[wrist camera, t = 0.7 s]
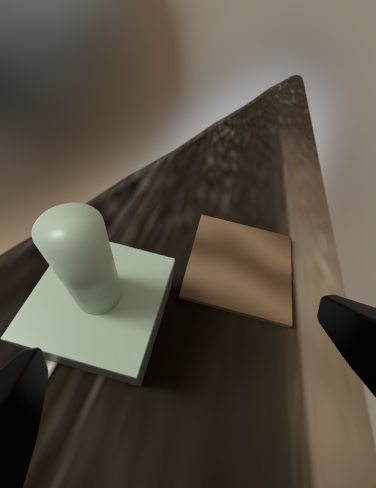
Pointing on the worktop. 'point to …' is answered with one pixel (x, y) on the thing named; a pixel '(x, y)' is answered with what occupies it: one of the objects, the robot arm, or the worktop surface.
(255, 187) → the worktop surface
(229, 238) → the walnut board
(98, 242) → the lid
